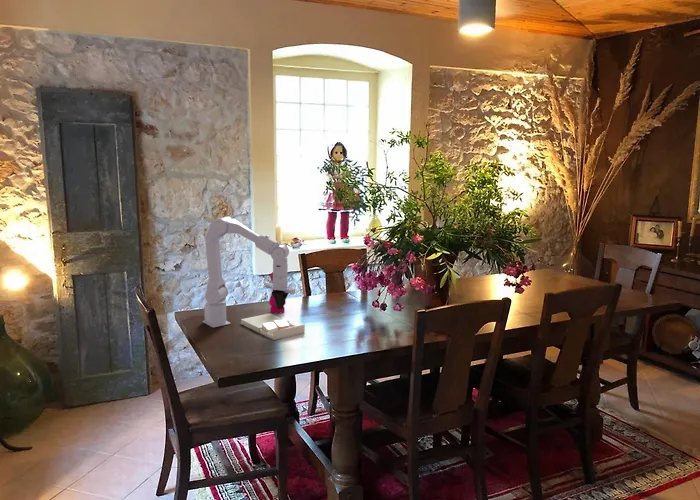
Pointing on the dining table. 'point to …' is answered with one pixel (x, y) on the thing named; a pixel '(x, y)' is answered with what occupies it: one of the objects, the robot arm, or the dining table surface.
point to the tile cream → (269, 327)
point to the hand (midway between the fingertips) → (280, 308)
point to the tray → (285, 332)
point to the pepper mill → (273, 303)
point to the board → (260, 321)
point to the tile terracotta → (281, 324)
